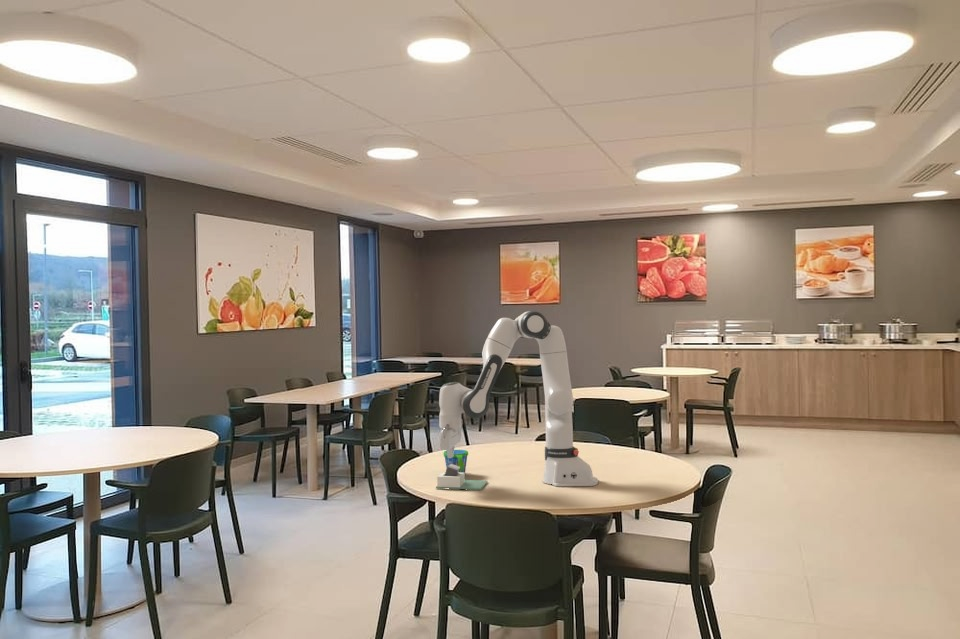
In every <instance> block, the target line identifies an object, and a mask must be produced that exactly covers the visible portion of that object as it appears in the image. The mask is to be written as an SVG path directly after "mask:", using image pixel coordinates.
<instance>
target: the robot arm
mask: <svg viewBox="0 0 960 639" xmlns="http://www.w3.org/2000/svg"><path fill="white" fill-rule="evenodd" d="M520 338H523V339H535V340H536V341H537V344H538V346H539V350H538V351H539V358H540V359H539V360H540V365H541V366H540V367H541V374H542V375H541V376H542V384H543V392H544V413H545V414H544V417H545V418H544V419H545V447H544V461H545V464H544V465H545V466H544V472H543V477H542V483H545V484H546V485H547V484H548V485H551V484H552V485H551V486H554V487H594V486H597V485H598V483H599V478H598V477H596V476H594V475H593V469H592V467H591V465H590V464H588V463H587V461H585V460H583V459H582V458H581V457H580V456H579V453H580V452H579V449H578V447H575V446H574V434H573V432H574V431H573V430H574V429H573V427H574V426H573V409H572V407H573V406H574V405H573V404H574V396H573V389H572V388H573V387H572V381H571V375H570V369H569V360H568V351H567V350H568V349H567V346H566V340H565V336H564V333H563V330H562V329H561V327H559V326H558V325H553V324H552V325H551V324H550V323H549V321H548V320H547V318H546V317H545V315H544V314H542V313H541V312H539V311H537V310H528V311H525V312H523V313H521V314H519V315H518V316H516V317H515V318H514V319H512V318H510V317H501V318H499V319H497V320H496V322H495V324H494V326H492V328H491V330H490V331H489V333H488V335H487V338H486V339H485V342H484V344H483V348H482V352H481V355H482V356H481V357H482V361H483V362H482V363H483V364H482V370H481V373H480V375H479V378H478V380H477V382H476V384H475V386H474V388H473V389H472V388H469V387H467V386H465V385H463V384H461V383H460V382H458V381H453V382H447V383H444V384H443V385H442V386H441V387H440V389H439V396H438V398H439V400H438V402H439V403H438V406H439V415H438V417H439V422H438V424H439V429H442V430H441V431H440V436H439V449H440V450H441V451H447V456H448V458H452V457H453V456H454V450H455V446H456V445H458V444H459V443H460V442H461V438H462V426H463V424H464V423H463V419H462V414H465V415H466V416H468V417H469V418H471V419H480V418H482V417H484V416H485V415H486V414H487V413H488V411H489V409H490V408H489V407H490V396H491V393H492V390H493V387H494V385H495V383H496V381H497V378H498V376H499V373H500V371H501V369H502V368H503V365H504V364H505V362H506V361H507V359H508V358H509V356H510V354H511V352H512V350H513V348H514V345H515V343H516V341H517V340H518V339H520Z"/></svg>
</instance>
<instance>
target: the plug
mask: <svg viewBox="0 0 960 639" xmlns="http://www.w3.org/2000/svg"><path fill="white" fill-rule="evenodd" d="M459 470H460V467H459V466H456V465H453V464H450V465H448V466H447V468H446V469H445V472H446V473H445V476H457V475H458V473H459Z"/></svg>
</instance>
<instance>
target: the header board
mask: <svg viewBox="0 0 960 639" xmlns="http://www.w3.org/2000/svg"><path fill="white" fill-rule="evenodd" d="M445 473H446V471H442V472H441V473H440V474H438V476H437V477H436V478H437V479H436V480H437V481H436V482H437V486H436V487H435V489H436V488H449V489H467V490H466V491H475V490H479V491H480V490H481V491H482V490H483V489H482V488H484V487H485V486H486V485H487V484H488V480H479V479H477V480H476V479H465V476H466V475H465V474H466V472H465V473H464V472H459V473H458V475H457V476H445ZM486 483H487V484H486ZM485 484H486V485H485ZM481 491H480V492H481Z"/></svg>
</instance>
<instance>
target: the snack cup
mask: <svg viewBox="0 0 960 639" xmlns="http://www.w3.org/2000/svg"><path fill="white" fill-rule="evenodd" d="M468 456H469V451H468V450H466V449H454V456H453V457H452V458H448V456H447V450H443V457H444V460H445V461H444V462H445V468H446V469H447V466H448V465H450V464H453V465H456V466H459V467H460V470H459V472H464V473H465V474H466V468H467V461H468Z"/></svg>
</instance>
